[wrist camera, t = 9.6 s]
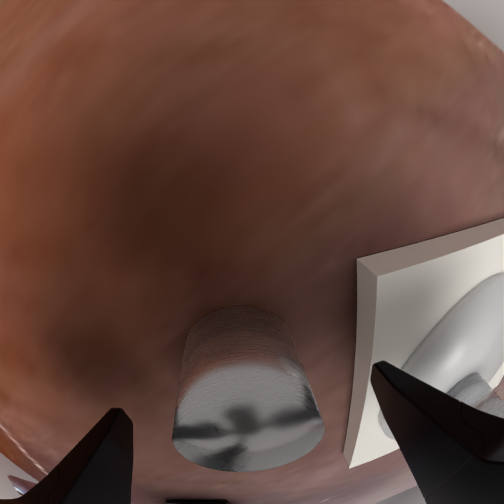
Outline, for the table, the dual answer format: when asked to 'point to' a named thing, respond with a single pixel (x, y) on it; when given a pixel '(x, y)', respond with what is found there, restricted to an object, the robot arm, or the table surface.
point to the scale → (426, 323)
